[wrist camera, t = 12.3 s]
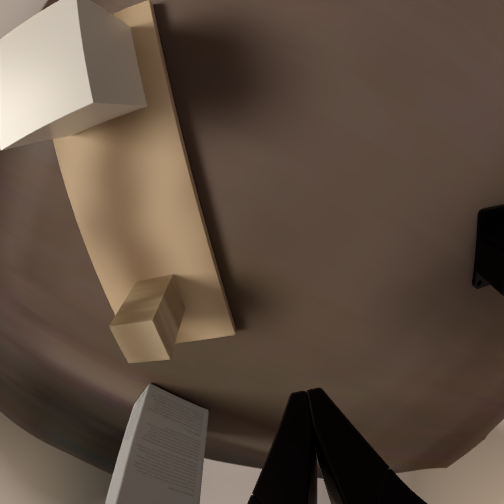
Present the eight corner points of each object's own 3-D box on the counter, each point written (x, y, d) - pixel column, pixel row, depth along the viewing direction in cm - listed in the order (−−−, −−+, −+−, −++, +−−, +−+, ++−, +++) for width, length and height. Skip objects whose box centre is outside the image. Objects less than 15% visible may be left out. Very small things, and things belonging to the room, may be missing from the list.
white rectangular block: (147, 106, 16) (93, 102, 10) (71, 135, 16) (0, 150, 10) (130, 26, 14) (76, -9, 8) (56, 61, 14) (-14, 50, 8)
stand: (152, 4, 14) (117, -33, 8) (235, 327, 22) (231, 387, 17) (43, 54, 14) (-13, 44, 9) (134, 341, 23) (111, 395, 18)
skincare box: (133, 403, 26) (99, 513, 15) (149, 381, 25) (113, 504, 14) (190, 429, 27) (174, 538, 16) (211, 410, 26) (199, 531, 15)
